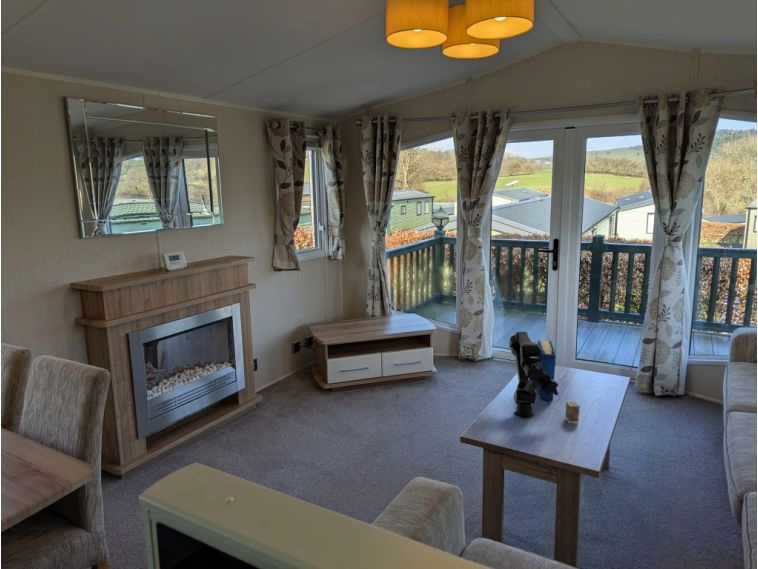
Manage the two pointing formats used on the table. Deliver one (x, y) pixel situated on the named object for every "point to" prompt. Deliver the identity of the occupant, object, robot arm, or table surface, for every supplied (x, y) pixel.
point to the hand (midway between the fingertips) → (557, 394)
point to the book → (546, 366)
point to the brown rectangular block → (572, 412)
